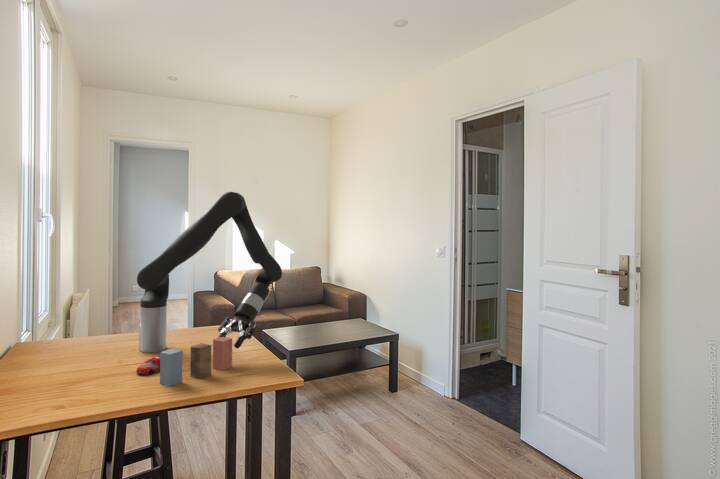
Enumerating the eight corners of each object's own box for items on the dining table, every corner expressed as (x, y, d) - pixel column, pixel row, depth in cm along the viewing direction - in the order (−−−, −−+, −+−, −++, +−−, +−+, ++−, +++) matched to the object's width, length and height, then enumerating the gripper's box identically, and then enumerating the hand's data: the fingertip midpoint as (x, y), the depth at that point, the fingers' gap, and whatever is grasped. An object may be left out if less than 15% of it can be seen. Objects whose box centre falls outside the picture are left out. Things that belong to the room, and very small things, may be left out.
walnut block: (190, 376, 138) (190, 346, 138) (201, 372, 142) (201, 343, 142) (200, 379, 136) (200, 348, 136) (211, 374, 140) (211, 345, 140)
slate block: (160, 383, 131) (160, 352, 131) (172, 379, 135) (172, 348, 135) (169, 386, 129) (170, 354, 129) (182, 381, 133) (182, 350, 133)
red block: (212, 368, 146) (213, 339, 146) (222, 364, 150) (222, 336, 150) (222, 370, 144) (222, 341, 144) (231, 366, 148) (232, 338, 148)
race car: (145, 377, 137) (145, 365, 137) (132, 375, 139) (132, 363, 139) (175, 364, 150) (175, 353, 149) (162, 362, 151) (162, 351, 151)
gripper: (230, 300, 159) (206, 337, 150) (259, 304, 153) (236, 342, 143) (240, 311, 164) (217, 348, 155) (269, 315, 158) (247, 354, 148)
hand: (226, 345), depth 149 cm, fingers open, 8 cm apart
